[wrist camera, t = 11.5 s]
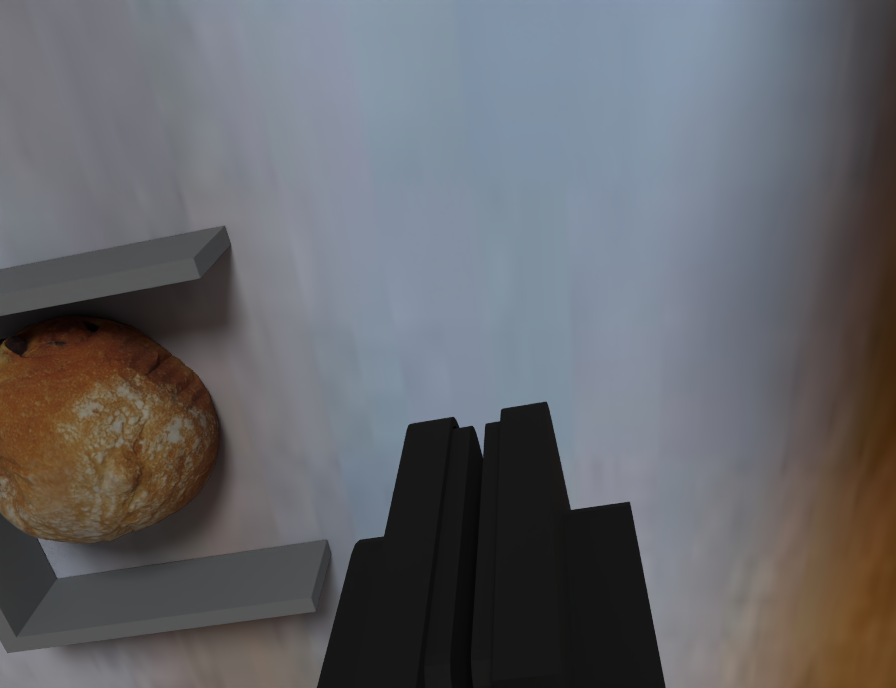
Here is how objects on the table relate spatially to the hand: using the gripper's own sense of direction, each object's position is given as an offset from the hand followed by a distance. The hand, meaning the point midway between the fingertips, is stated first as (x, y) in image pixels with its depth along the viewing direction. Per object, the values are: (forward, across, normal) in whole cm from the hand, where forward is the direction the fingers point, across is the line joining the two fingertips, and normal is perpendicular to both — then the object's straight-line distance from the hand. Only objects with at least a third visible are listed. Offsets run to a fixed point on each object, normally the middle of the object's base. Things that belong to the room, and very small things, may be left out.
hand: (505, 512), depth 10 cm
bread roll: (+23, +20, +9) cm, 32 cm away
